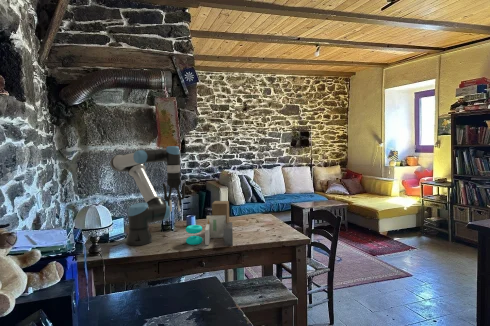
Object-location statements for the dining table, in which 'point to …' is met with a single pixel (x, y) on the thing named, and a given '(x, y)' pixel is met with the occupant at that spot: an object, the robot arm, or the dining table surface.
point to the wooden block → (221, 208)
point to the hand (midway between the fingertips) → (175, 211)
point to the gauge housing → (221, 228)
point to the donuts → (194, 229)
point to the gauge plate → (207, 233)
